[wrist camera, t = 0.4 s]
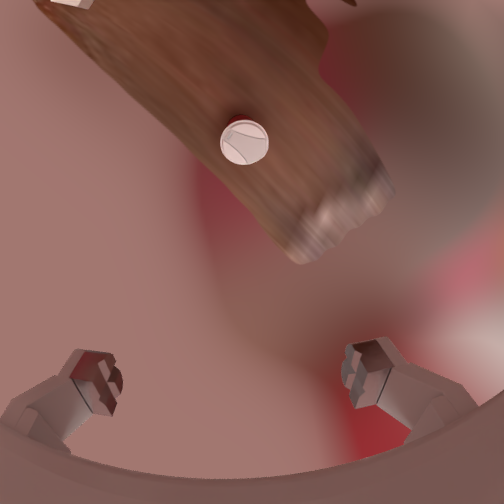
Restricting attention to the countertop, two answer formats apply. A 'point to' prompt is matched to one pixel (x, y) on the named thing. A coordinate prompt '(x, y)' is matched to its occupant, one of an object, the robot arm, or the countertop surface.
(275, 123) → the countertop surface
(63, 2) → the ticket block
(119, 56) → the countertop surface
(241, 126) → the paper cup
